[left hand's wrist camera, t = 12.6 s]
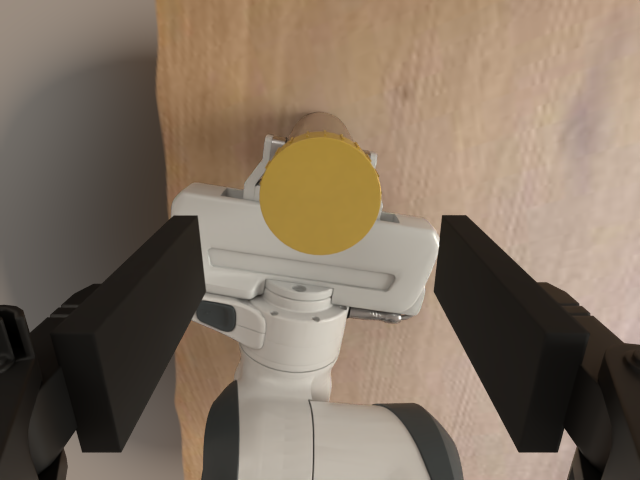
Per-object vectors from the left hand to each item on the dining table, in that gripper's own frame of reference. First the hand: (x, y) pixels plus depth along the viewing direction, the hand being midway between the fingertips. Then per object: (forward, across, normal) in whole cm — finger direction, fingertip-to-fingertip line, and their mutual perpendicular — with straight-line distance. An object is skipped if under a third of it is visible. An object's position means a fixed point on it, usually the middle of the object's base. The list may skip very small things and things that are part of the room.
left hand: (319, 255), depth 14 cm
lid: (+7, 0, 0) cm, 7 cm away
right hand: (+18, 0, -1) cm, 18 cm away
